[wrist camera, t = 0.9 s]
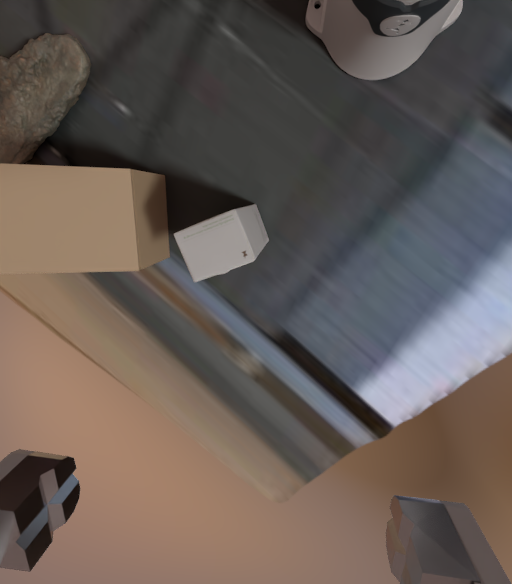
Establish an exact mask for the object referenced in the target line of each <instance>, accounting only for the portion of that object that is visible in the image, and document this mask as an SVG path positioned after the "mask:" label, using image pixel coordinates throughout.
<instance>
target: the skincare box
mask: <svg viewBox="0 0 512 584" xmlns="http://www.w3.org/2000/svg"><path fill="white" fill-rule="evenodd" d="M174 236H175V239H176V241H177V244H178V246H179V248H180V251H181V253H182V255H183V258H184V260H185V262H186V265H187V267H188V269H189V272H190V274H191V276H192V278H193V281H194V282H197V281H200V280H203V279H206V278H209V277H212V276H215V275H218V274H225V273H227V272H228V271H229V270H231V269H234V268H237V267H240V266H243V265H245V264H248V263H251V262H253V261H254V260H256V257H257V256H258V255H259V253H260V252H261V250H262V249H263V248H264V246H265V245H266V244H267V242H268V241H269V238H268V235H267V233H266V230H265V227H264V224H263V222H262V219H261V216H260V214H259V211H258V208H257V206H256V204H253V205H249V206H245V207H241V208H237V209H233V210H230V211H227V212H225V213H222V214H219V215H217V216H214V217H212V218H209V219H207V220H204V221H202V222H199V223H197V224H195V225H192V226H190V227H188V228H185V229H183V230H181V231H179V232H176V233H174Z"/></svg>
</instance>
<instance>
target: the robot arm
mask: <svg viewBox="0 0 512 584" xmlns="http://www.w3.org/2000/svg"><path fill="white" fill-rule="evenodd" d="M316 4H319V5H320V6H321V7H320V8H319V9H316V8H315V7H314V6H315V5H316ZM462 7H463V0H309V3H308V7H307V12H306V17H305V23H306V26H307V27H308V29H309V30H310V31H311V32H312V33H314V34H315V35H316V36H318V37H319V38H320V39H322V41H323V42H324V44H325V46H326V48H327V50H328V52H329V53H330V55H331V57H332V59H333V60H334V61H335V63H336V64H337V65H338V66H339V67H340V68H341V69H342V70H344V71H345V72H346V73H348V74H350V75H352V76H354V77H357V78H360V79H365V80H379V79H385V78H388V77H391V76H394V75H396V74H398V73H400V72H402V71H403V70H405V69H406V68H408V67H409V66H410V65H411V64H413V63H414V62H415V61H416V60H417V59H418V58H419V57H420V56H421V54H422V53H423V52H424V51H425V49H426V48H427V47H428V45H429V44H430V42H431V41H432V40H433V39H434V37H435V36H436V35H438V34H439V33H441V32H442V31H443V30H445V29H446V28H448V27H449V26H450V25H452V24H453V23H454V22H455V21H456V19H457V18H458V16H459V15H460V13H461V11H462ZM75 469H76V465H75V461H74V458H72V457H68V456H62V455H55V454H49V453H43V452H34V451H28V450H21V449H19V450H16V451H14V452H11V453H10V454H9V455H8V456H7V457H5V458H4V459H3V460H2V461H1V462H0V567H1V568H7V569H14V570H22V571H29V572H30V571H31V570H32V569H33V567H34V566H35V564H36V563H37V562H38V560H39V559H40V558H41V556H42V555H43V553H44V552H45V551H46V549H47V548H48V547H49V545H50V544H51V543H52V539H53V531H54V530H56V529H57V528H59V527H60V526H62V525H63V524H65V523H66V522H67V520H68V519H69V518H70V516H71V515H72V513H73V512H74V510H75V507H76V505H77V502H78V500H79V495H80V485H79V481H78V480H77V479H76V478H75V476H74V475H73V472H74V471H75ZM390 510H391V513H392V516H393V518H392V519H391V520H389V521H388V522H387V529H386V547H387V554H388V559H389V563H390V568H391V572H392V573H393V574H394V576H395V577H396V578H397V579H398V581H399V582H400V584H511V582H510V581H509V579H508V577H507V575H506V574H505V572H504V570H503V568H502V567H501V565H500V563H499V561H498V559H497V558H496V556H495V554H494V552H493V550H492V549H491V547H490V545H489V543H488V542H487V540H486V538H485V536H484V535H483V533H482V531H481V529H480V527H479V526H478V524H477V522H476V520H475V518H474V517H473V515H472V513H471V511H470V510H469V508H468V507H467V506H466V505H465V504H464V503H456V502H447V501H438V500H432V499H422V498H413V497H403V496H393V498H392V499H391V504H390Z"/></svg>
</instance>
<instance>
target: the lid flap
mask: <svg viewBox="0 0 512 584" xmlns="http://www.w3.org/2000/svg"><path fill="white" fill-rule="evenodd" d="M139 270H140V268H139V257H138V245H137V233H136V222H135V210H134V198H133V187H132V175H131V169H122V168H98V167H74V166H50V165H26V164H2V163H0V274H30V273H72V272H114V271H139Z"/></svg>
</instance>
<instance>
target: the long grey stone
mask: <svg viewBox="0 0 512 584" xmlns="http://www.w3.org/2000/svg"><path fill="white" fill-rule="evenodd" d="M90 67H91V63H90V59H89V57H88V55H87V53H86V52H85V50H84V48H83V47H82V45H81V43H80V42H79V41H78V40H77V39H76V38H75V37H72V36H71V35H69V34H65V35H64V34H63V35H57V34H55V35H51V34H50V33H45V34H44V35H43V36H39V37H38V38H37V39H36V40H34V39H30V40H29V41H28V43H27V44H26V45H24V48H23V49H22V50H19V51H18V52H17V53H16V54H14V55H12V57H10V59H8V58H6V57H2V56H0V163H2V164H23V163H26V162H27V161H29V160H30V159H32V158H33V155H34V153H35V152H36V150H37V149H38V147H39V146H40V145H41V143H43V142H44V141H45V139H46V138H47V137H48V136H51V135H52V134H53V133H54V132H55V131H56V130H57V127H58V126H59V124H60V121H61V120H62V119H63V118H64V117H65V116H66V114H67V113H68V112H69V110H70V108H71V107H72V106H73V105H75V104H76V102H77V101H78V99H79V98H78V96H79V95H80V94H81V93H82V90H83V88H84V87H85V86H86V83H87V80H88V77H89V74H90Z"/></svg>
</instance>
